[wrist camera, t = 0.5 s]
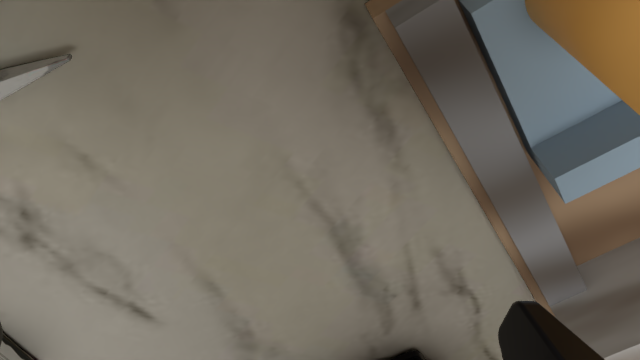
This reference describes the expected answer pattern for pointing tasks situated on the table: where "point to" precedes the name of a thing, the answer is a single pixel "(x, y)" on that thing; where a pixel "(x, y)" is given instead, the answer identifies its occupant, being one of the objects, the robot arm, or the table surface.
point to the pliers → (27, 74)
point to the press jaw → (567, 83)
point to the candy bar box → (11, 350)
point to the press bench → (523, 182)
